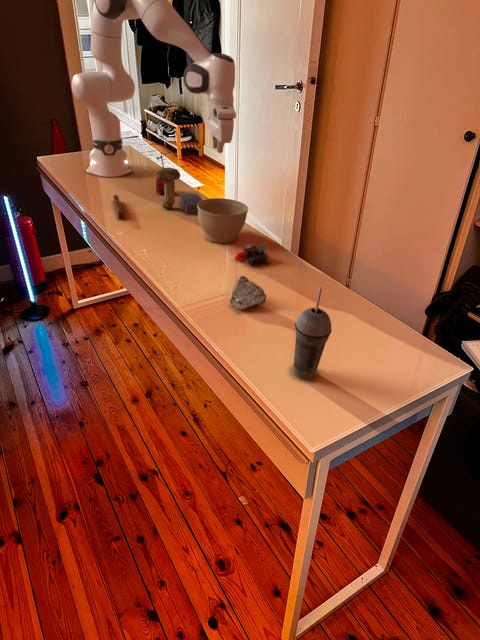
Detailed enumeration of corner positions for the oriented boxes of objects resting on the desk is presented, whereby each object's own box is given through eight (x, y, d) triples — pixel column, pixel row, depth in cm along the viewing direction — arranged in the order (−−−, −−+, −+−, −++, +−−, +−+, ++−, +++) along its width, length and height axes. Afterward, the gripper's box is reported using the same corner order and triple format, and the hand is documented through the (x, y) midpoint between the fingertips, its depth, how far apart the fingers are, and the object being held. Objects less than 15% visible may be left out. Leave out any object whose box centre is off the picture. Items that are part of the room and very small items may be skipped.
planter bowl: (254, 237, 159) (257, 206, 153) (226, 252, 148) (229, 219, 142) (215, 224, 166) (217, 194, 160) (186, 237, 154) (186, 205, 149)
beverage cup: (285, 380, 98) (300, 296, 87) (288, 359, 104) (302, 278, 93) (321, 386, 97) (340, 302, 86) (321, 365, 103) (339, 284, 92)
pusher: (179, 202, 182) (179, 194, 180) (197, 202, 184) (198, 193, 182) (186, 214, 172) (186, 204, 170) (205, 213, 174) (205, 204, 172)
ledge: (113, 201, 177) (113, 195, 175) (117, 201, 177) (117, 195, 176) (118, 219, 162) (118, 212, 161) (123, 219, 163) (123, 212, 162)
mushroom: (167, 215, 170) (168, 172, 162) (150, 208, 174) (150, 167, 166) (185, 209, 176) (187, 168, 168) (169, 203, 181) (169, 162, 172)
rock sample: (217, 293, 118) (241, 267, 118) (220, 298, 125) (242, 274, 126) (248, 320, 117) (272, 294, 117) (249, 324, 124) (272, 299, 125)
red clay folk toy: (161, 196, 186) (161, 157, 178) (152, 191, 190) (151, 152, 182) (177, 194, 190) (178, 155, 182) (168, 189, 194) (168, 151, 186)
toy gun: (252, 248, 152) (253, 234, 149) (270, 264, 143) (272, 249, 141) (224, 252, 148) (226, 237, 145) (242, 268, 139) (243, 253, 136)
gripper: (203, 102, 169) (201, 143, 176) (219, 113, 153) (216, 157, 160) (220, 103, 171) (218, 143, 178) (237, 114, 155) (234, 157, 162)
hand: (217, 150), depth 169 cm, fingers open, 4 cm apart
